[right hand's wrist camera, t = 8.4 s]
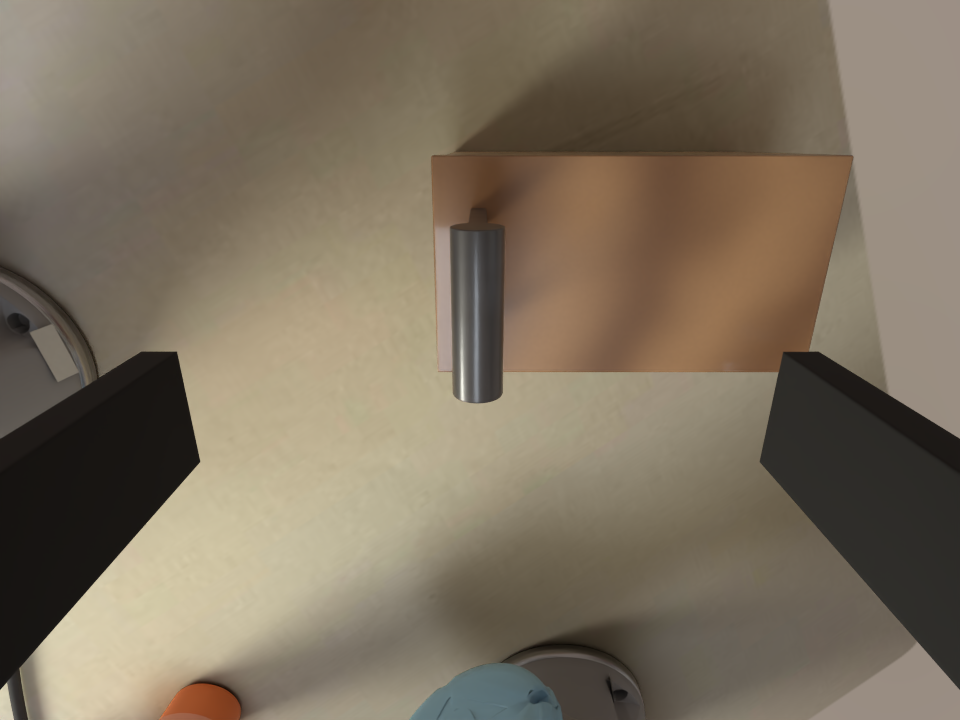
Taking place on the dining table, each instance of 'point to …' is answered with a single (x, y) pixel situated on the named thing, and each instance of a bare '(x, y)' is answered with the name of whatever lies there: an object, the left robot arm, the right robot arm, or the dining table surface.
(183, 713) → the cup with straw
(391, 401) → the dining table surface
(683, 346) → the lid
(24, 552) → the right robot arm
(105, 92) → the dining table surface
